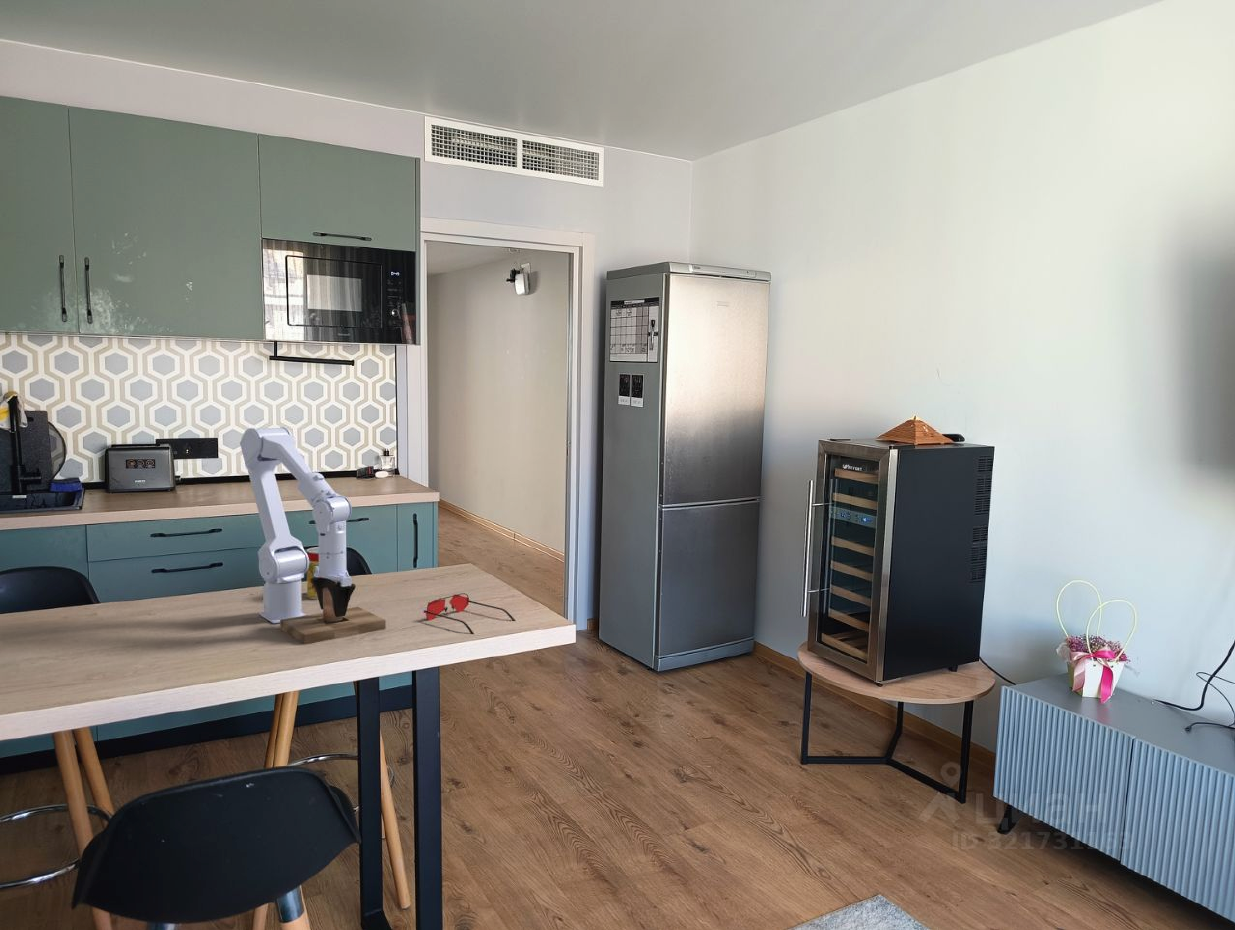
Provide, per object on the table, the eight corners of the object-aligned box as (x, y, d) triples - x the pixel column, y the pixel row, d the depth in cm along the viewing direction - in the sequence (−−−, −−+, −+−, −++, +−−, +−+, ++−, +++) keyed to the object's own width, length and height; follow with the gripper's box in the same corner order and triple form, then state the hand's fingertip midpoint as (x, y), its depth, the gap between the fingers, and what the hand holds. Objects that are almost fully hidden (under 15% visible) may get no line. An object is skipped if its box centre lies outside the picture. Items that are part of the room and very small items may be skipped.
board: (280, 628, 180) (280, 619, 180) (357, 614, 192) (357, 606, 192) (305, 644, 170) (305, 634, 170) (385, 628, 182) (385, 619, 182)
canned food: (333, 599, 205) (333, 552, 204) (302, 599, 205) (301, 552, 204) (344, 592, 213) (343, 546, 212) (314, 591, 213) (313, 546, 212)
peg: (319, 628, 181) (319, 588, 180) (338, 624, 184) (337, 585, 183) (327, 632, 178) (327, 592, 177) (345, 629, 181) (345, 589, 180)
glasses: (466, 610, 200) (466, 590, 200) (516, 622, 191) (516, 601, 190) (422, 622, 189) (422, 601, 189) (472, 636, 180) (473, 613, 179)
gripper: (301, 548, 182) (302, 608, 183) (328, 559, 172) (329, 622, 173) (332, 545, 187) (332, 603, 188) (360, 555, 176) (360, 617, 178)
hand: (333, 612), depth 181 cm, fingers open, 7 cm apart
